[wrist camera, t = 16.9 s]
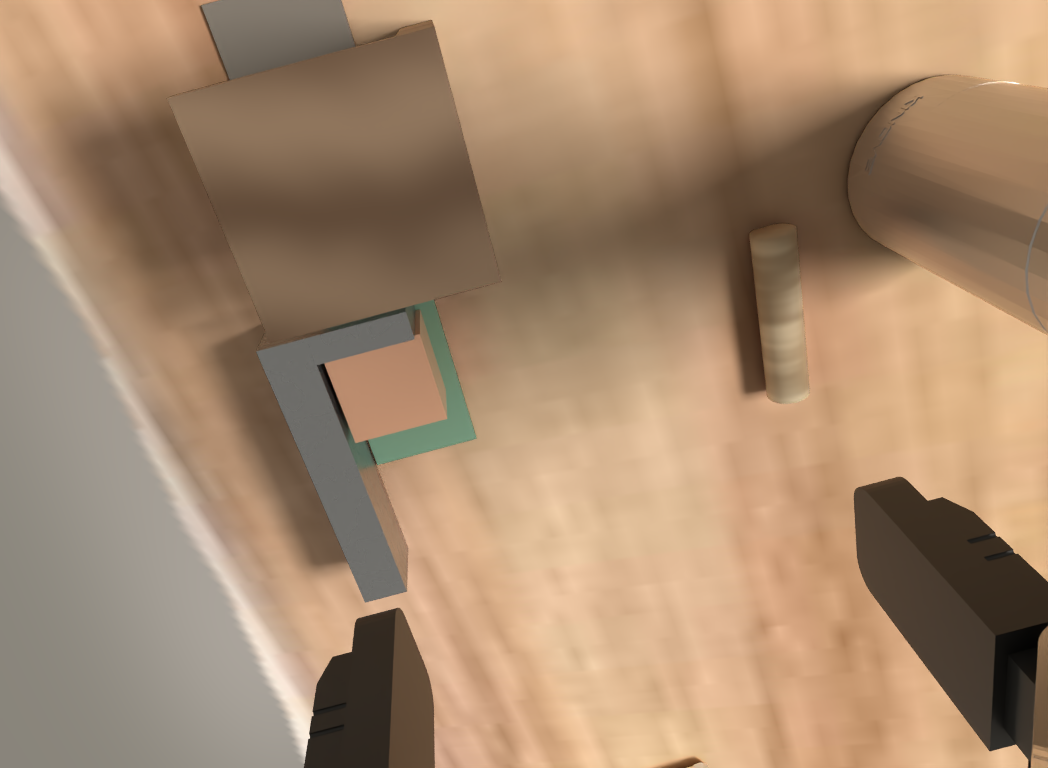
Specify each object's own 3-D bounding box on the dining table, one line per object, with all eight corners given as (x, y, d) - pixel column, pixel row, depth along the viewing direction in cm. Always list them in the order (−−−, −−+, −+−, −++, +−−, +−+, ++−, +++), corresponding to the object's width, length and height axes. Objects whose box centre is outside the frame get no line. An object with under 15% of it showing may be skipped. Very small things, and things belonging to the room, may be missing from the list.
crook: (270, 320, 42) (255, 351, 39) (407, 284, 42) (405, 311, 39) (369, 558, 50) (365, 602, 46) (485, 527, 50) (490, 569, 46)
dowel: (763, 222, 44) (740, 238, 42) (805, 224, 42) (782, 241, 41) (779, 379, 48) (759, 398, 47) (817, 387, 47) (797, 407, 45)
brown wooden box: (222, 75, 37) (166, 98, 29) (431, 19, 37) (434, 26, 29) (299, 275, 41) (270, 343, 33) (486, 225, 41) (501, 281, 33)
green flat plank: (202, 5, 35) (201, 5, 35) (331, -30, 35) (331, -30, 35) (377, 464, 47) (377, 465, 47) (476, 437, 47) (476, 438, 47)
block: (330, 333, 43) (322, 359, 40) (420, 309, 43) (419, 333, 40) (360, 411, 45) (355, 443, 42) (445, 389, 45) (447, 418, 42)
